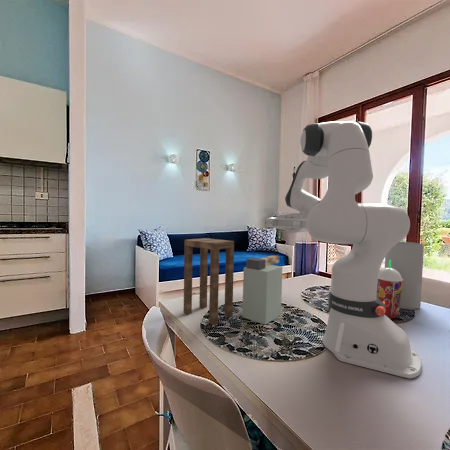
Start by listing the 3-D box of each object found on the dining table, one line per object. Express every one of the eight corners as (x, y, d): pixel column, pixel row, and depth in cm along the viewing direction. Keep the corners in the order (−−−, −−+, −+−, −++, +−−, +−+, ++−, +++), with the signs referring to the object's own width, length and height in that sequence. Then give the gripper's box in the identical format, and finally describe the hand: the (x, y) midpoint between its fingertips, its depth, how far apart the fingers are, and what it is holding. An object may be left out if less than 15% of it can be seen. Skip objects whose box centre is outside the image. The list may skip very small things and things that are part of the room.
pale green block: (280, 314, 92) (282, 266, 91) (265, 324, 83) (267, 271, 82) (258, 308, 97) (260, 263, 96) (242, 317, 89) (243, 267, 88)
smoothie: (406, 320, 89) (409, 262, 88) (382, 319, 89) (385, 262, 88) (391, 311, 97) (394, 258, 96) (369, 310, 97) (371, 257, 96)
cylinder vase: (376, 301, 108) (379, 241, 107) (395, 297, 113) (398, 241, 112) (408, 312, 96) (411, 245, 95) (427, 307, 102) (431, 244, 100)
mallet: (270, 261, 101) (270, 253, 100) (282, 262, 98) (282, 255, 97) (246, 267, 87) (246, 259, 87) (259, 270, 84) (259, 261, 84)
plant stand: (232, 315, 90) (234, 241, 89) (213, 324, 82) (215, 243, 81) (203, 305, 99) (204, 237, 97) (183, 313, 91) (184, 239, 90)
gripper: (318, 231, 110) (305, 232, 99) (274, 228, 122) (259, 229, 111) (318, 216, 109) (306, 216, 99) (274, 215, 122) (259, 215, 111)
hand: (281, 223), depth 105 cm, fingers open, 8 cm apart
